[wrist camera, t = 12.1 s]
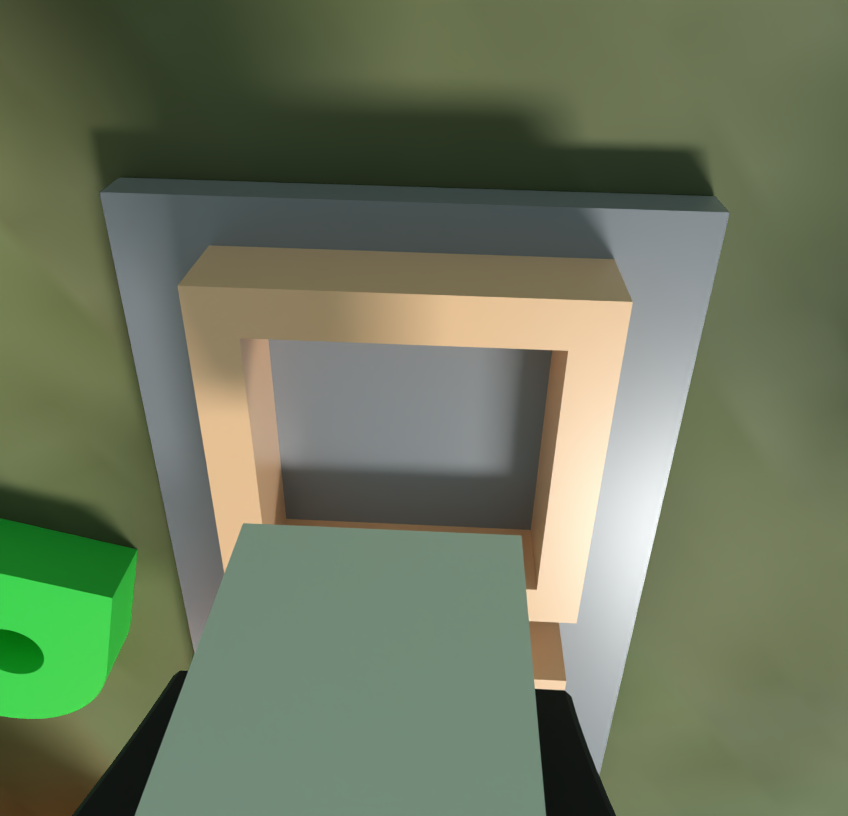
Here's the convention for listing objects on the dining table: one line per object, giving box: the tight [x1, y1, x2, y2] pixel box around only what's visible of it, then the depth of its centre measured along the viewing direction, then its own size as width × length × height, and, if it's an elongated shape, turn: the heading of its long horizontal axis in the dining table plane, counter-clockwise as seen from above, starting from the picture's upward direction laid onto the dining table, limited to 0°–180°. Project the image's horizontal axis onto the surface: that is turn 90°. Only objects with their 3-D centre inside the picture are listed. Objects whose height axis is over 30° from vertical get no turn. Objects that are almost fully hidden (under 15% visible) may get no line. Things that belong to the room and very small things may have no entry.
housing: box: [100, 178, 730, 774], centre depth 20 cm, size 12×20×3 cm, turn 179°
